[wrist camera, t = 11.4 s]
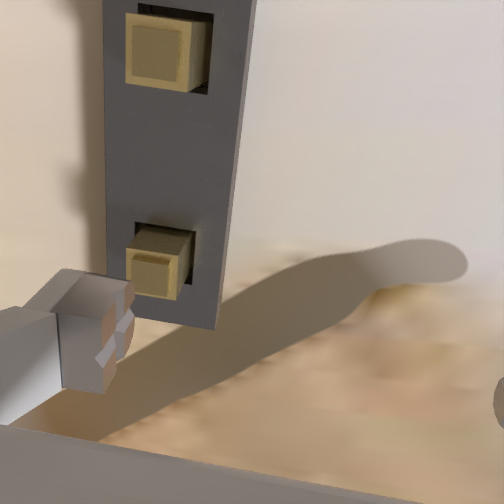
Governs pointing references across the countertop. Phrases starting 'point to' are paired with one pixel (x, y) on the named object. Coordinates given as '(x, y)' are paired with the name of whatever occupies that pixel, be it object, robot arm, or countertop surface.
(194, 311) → the grey peg hole board
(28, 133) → the countertop surface
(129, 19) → the tan square peg
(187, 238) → the wooden post chunk
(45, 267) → the countertop surface
